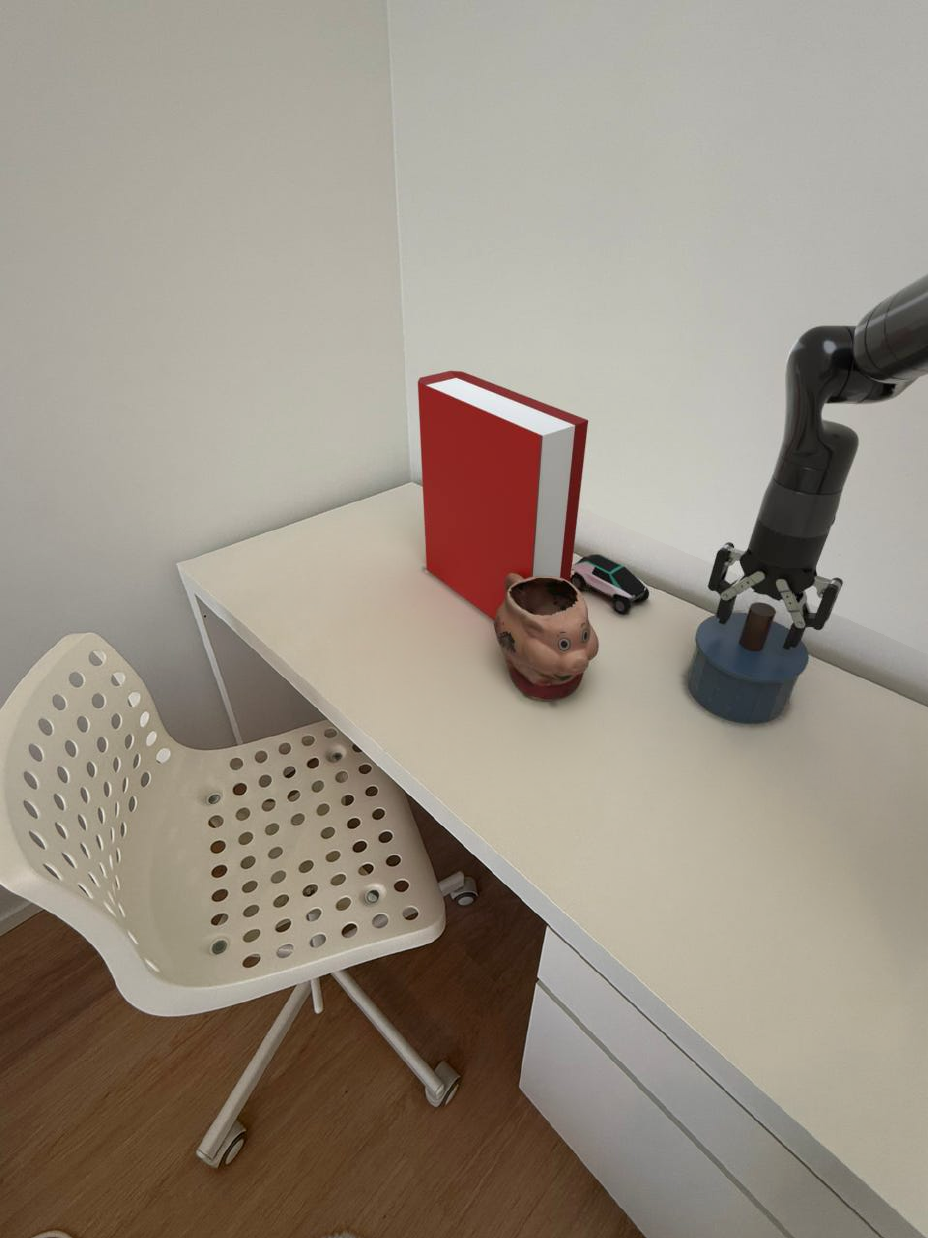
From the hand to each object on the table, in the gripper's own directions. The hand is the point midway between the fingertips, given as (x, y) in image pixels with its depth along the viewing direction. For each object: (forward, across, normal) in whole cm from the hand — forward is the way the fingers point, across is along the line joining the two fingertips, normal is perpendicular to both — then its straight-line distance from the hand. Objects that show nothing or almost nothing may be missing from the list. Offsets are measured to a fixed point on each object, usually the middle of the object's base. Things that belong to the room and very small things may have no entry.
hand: (755, 633), depth 82 cm
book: (+10, -40, -3) cm, 41 cm away
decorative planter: (+10, -23, -14) cm, 29 cm away
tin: (+10, 0, 0) cm, 10 cm away
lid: (+2, 0, 0) cm, 2 cm away
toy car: (+10, -25, +9) cm, 28 cm away
